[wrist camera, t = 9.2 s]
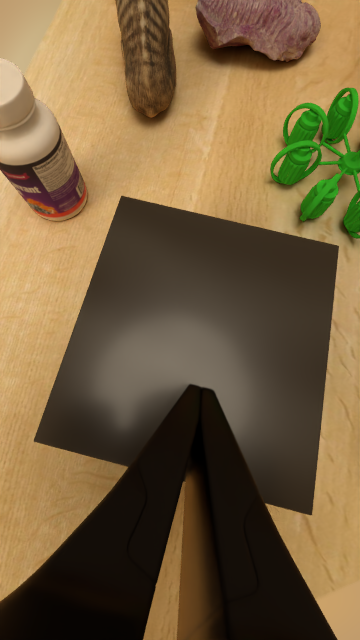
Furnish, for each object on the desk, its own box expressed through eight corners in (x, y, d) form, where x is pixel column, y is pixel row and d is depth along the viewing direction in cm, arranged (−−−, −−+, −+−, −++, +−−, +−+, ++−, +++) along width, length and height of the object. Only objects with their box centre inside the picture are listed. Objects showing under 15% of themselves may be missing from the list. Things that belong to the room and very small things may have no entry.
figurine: (174, 32, 30) (174, -135, 20) (176, 129, 27) (179, -17, 17) (122, 32, 30) (98, -138, 20) (118, 128, 26) (86, -20, 17)
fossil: (190, 22, 31) (194, -50, 26) (305, 24, 31) (331, -46, 26) (194, 70, 28) (199, 3, 23) (317, 72, 29) (347, 6, 24)
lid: (123, 204, 16) (121, 195, 16) (331, 252, 16) (339, 245, 15) (41, 438, 13) (32, 441, 12) (303, 507, 13) (312, 516, 12)
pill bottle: (19, 201, 24) (-81, 84, 15) (59, 165, 25) (-9, 34, 16) (60, 233, 23) (-16, 133, 14) (100, 195, 24) (55, 77, 15)
